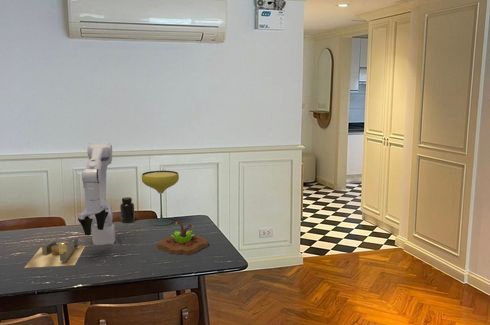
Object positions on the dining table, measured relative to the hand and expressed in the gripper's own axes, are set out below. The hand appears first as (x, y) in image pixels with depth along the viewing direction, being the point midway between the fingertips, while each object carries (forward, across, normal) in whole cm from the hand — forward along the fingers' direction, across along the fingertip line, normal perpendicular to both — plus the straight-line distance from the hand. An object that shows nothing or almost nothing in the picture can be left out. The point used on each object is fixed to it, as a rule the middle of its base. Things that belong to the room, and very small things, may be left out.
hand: (94, 232), depth 187 cm
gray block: (+10, +5, -19) cm, 22 cm away
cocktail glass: (+11, -52, -1) cm, 53 cm away
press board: (+10, +6, -14) cm, 18 cm away
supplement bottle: (+11, -48, -19) cm, 53 cm away
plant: (+11, -25, +26) cm, 38 cm away
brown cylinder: (+9, +4, -15) cm, 18 cm away
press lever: (+8, +4, -10) cm, 13 cm away
